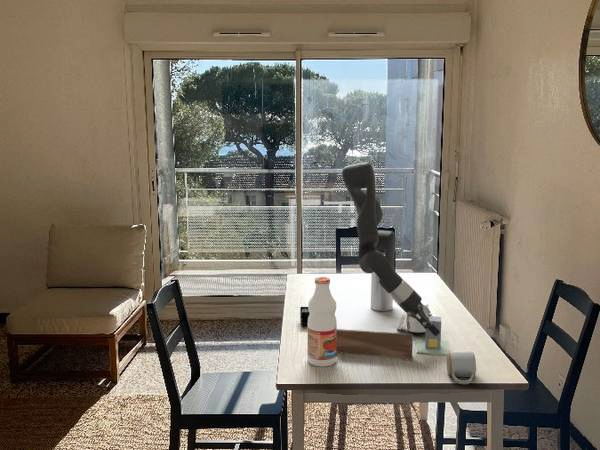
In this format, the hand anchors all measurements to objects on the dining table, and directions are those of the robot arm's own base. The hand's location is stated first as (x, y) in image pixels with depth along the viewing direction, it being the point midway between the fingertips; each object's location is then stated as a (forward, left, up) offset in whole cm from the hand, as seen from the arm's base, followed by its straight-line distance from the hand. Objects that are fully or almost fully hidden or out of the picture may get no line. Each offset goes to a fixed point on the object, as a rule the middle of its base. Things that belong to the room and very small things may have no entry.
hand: (437, 329), depth 200 cm
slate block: (0, -1, -6) cm, 6 cm away
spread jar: (-15, -8, -7) cm, 19 cm away
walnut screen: (+10, -21, -7) cm, 25 cm away
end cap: (-16, -46, -7) cm, 50 cm away
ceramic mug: (+22, +7, -7) cm, 24 cm away
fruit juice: (+19, -37, -7) cm, 42 cm away
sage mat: (0, -1, -7) cm, 7 cm away
